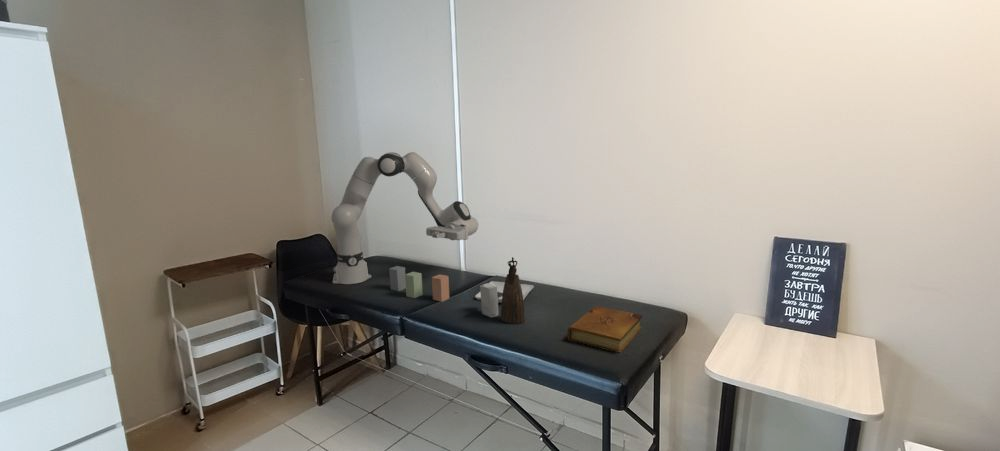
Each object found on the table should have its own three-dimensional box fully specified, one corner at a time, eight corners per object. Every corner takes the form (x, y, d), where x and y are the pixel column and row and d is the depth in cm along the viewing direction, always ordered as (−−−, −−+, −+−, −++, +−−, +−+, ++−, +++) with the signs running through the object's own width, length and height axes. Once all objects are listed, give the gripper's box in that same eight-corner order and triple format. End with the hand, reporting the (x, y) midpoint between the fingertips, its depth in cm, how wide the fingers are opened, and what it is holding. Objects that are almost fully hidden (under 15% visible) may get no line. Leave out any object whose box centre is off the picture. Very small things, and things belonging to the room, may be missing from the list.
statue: (521, 315, 184) (520, 255, 178) (526, 323, 177) (525, 261, 170) (499, 318, 182) (498, 257, 176) (504, 326, 175) (502, 263, 169)
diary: (593, 319, 180) (593, 305, 179) (641, 330, 170) (642, 315, 169) (567, 341, 161) (567, 325, 160) (620, 354, 151) (620, 338, 150)
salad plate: (521, 308, 192) (521, 300, 192) (474, 303, 199) (473, 296, 198) (534, 291, 212) (534, 284, 211) (490, 287, 219) (490, 280, 218)
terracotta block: (440, 296, 204) (439, 274, 202) (449, 298, 201) (448, 276, 199) (432, 299, 200) (431, 277, 198) (441, 301, 197) (440, 279, 195)
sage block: (414, 293, 209) (413, 271, 207) (422, 295, 206) (421, 273, 204) (406, 296, 205) (405, 274, 203) (414, 298, 202) (413, 276, 200)
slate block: (398, 286, 219) (397, 265, 217) (406, 288, 216) (404, 267, 214) (390, 289, 215) (389, 268, 213) (398, 291, 212) (396, 270, 210)
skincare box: (499, 315, 185) (498, 286, 182) (490, 318, 182) (489, 288, 180) (489, 311, 189) (488, 282, 187) (480, 313, 187) (479, 284, 184)
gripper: (437, 222, 229) (417, 226, 218) (470, 226, 218) (451, 231, 207) (437, 234, 231) (418, 239, 219) (470, 239, 219) (451, 245, 208)
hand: (434, 236), depth 213 cm, fingers closed
